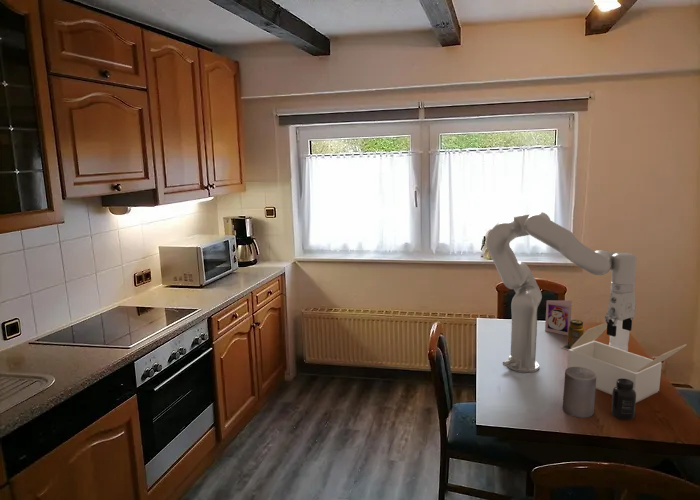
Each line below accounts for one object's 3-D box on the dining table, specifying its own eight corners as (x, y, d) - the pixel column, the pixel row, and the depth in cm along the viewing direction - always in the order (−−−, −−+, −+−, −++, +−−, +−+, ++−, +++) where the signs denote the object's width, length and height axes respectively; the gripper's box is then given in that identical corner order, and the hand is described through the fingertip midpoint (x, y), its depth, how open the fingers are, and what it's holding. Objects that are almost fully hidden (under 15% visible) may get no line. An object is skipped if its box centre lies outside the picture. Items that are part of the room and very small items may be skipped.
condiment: (586, 347, 226) (587, 321, 224) (577, 353, 220) (579, 326, 218) (569, 343, 231) (571, 317, 229) (561, 348, 225) (562, 322, 223)
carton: (633, 404, 177) (636, 374, 175) (566, 376, 198) (568, 349, 196) (658, 391, 185) (661, 362, 183) (592, 366, 207) (593, 340, 205)
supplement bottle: (636, 414, 170) (640, 380, 168) (631, 423, 165) (634, 388, 163) (614, 408, 175) (617, 374, 172) (608, 416, 170) (610, 382, 167)
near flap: (636, 371, 175) (637, 372, 175) (662, 354, 167) (663, 355, 167) (660, 360, 183) (661, 361, 182) (686, 343, 175) (687, 345, 174)
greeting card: (544, 331, 246) (545, 300, 243) (549, 326, 252) (551, 297, 249) (569, 336, 239) (571, 305, 236) (574, 331, 244) (576, 301, 241)
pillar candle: (557, 404, 178) (559, 363, 175) (584, 402, 179) (587, 362, 176) (571, 419, 169) (574, 376, 166) (600, 417, 169) (603, 374, 166)
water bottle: (608, 355, 217) (613, 297, 212) (627, 358, 213) (632, 300, 208) (606, 361, 211) (611, 302, 206) (626, 364, 208) (631, 305, 203)
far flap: (589, 329, 188) (588, 328, 189) (571, 348, 196) (570, 347, 196) (613, 321, 196) (612, 320, 196) (595, 339, 203) (594, 338, 204)
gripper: (618, 293, 178) (615, 340, 181) (646, 285, 187) (642, 330, 190) (598, 289, 184) (595, 334, 187) (626, 281, 193) (622, 324, 196)
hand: (619, 332), depth 189 cm, fingers open, 9 cm apart
